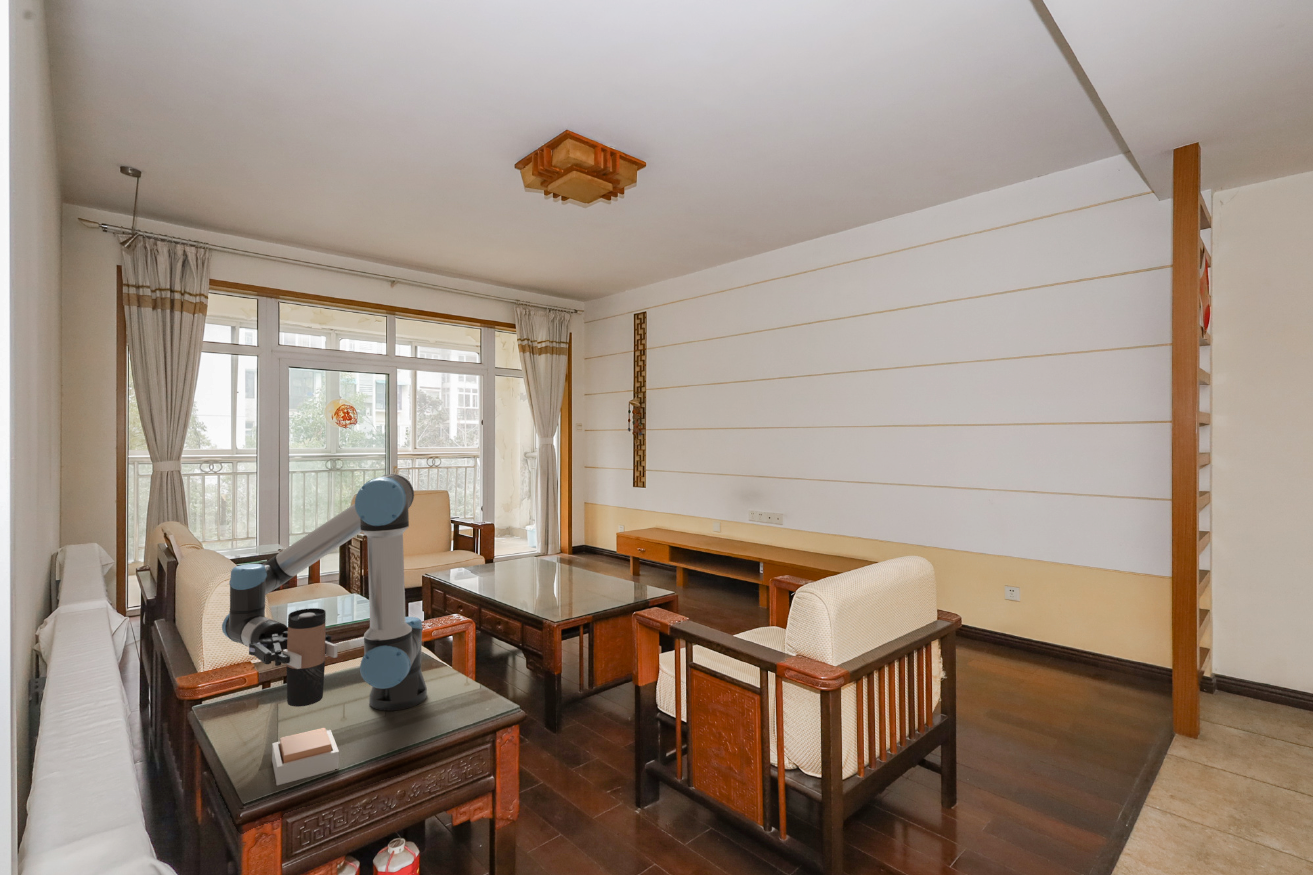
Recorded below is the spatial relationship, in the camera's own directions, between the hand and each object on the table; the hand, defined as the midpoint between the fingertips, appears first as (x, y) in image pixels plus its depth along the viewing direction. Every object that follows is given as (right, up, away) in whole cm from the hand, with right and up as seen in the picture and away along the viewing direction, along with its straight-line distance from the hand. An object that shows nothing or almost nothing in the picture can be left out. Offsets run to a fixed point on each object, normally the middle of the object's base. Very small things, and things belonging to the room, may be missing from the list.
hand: (318, 656), depth 139 cm
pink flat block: (-5, -23, +3) cm, 24 cm away
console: (-5, -26, +3) cm, 26 cm away
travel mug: (-5, -11, +3) cm, 12 cm away
